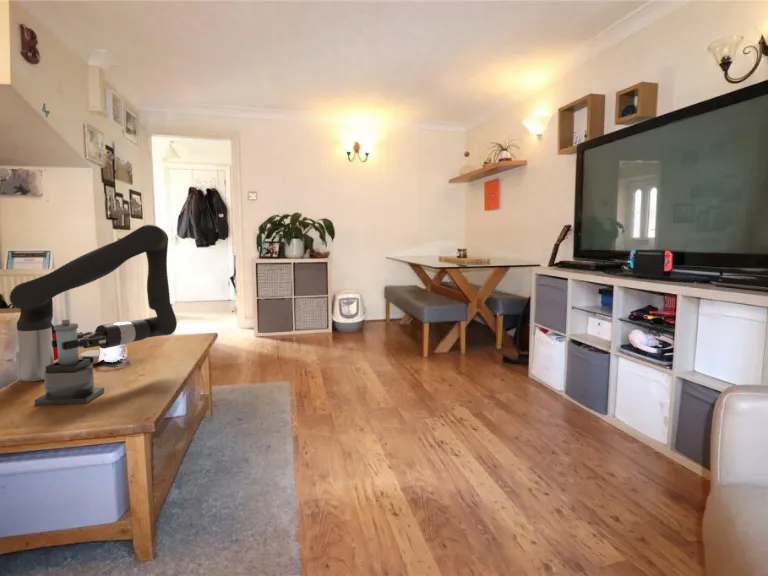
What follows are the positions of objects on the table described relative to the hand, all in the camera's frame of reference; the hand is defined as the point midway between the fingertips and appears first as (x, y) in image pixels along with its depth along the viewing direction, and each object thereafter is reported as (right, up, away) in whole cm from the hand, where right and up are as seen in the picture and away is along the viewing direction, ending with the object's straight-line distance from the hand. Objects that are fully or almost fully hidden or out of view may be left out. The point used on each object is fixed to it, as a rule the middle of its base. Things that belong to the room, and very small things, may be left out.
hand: (57, 345), depth 130 cm
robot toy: (-14, -13, +42) cm, 46 cm away
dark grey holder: (+1, -16, +4) cm, 17 cm away
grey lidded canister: (+1, -6, +3) cm, 7 cm away
